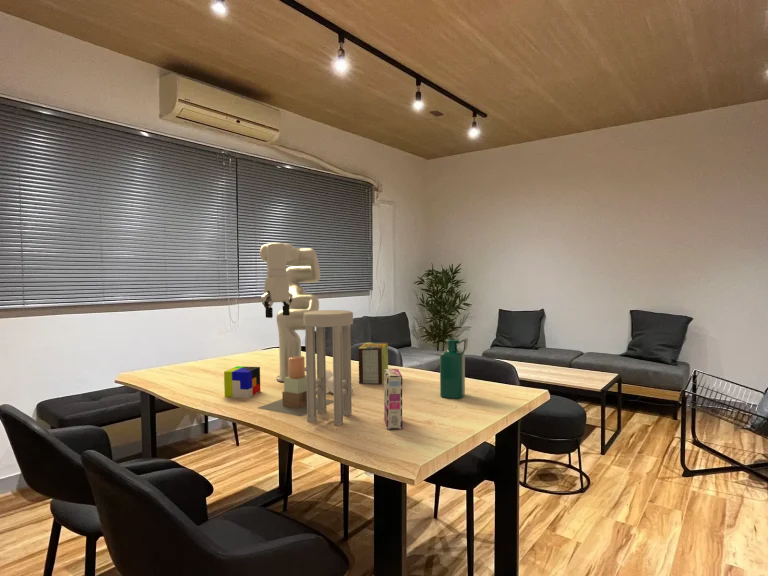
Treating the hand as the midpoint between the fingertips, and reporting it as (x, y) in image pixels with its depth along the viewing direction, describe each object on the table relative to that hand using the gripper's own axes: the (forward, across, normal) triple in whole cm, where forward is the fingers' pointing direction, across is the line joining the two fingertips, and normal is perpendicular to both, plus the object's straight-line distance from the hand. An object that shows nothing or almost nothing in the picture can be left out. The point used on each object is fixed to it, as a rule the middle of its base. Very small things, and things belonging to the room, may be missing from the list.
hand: (277, 316), depth 185 cm
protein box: (+31, -34, +24) cm, 52 cm away
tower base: (+30, +12, +20) cm, 38 cm away
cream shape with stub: (+31, -8, +22) cm, 39 cm away
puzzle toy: (+31, +10, -10) cm, 34 cm away
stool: (+31, +18, +39) cm, 53 cm away
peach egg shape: (+20, +12, +20) cm, 31 cm away
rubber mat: (+30, +12, +20) cm, 38 cm away
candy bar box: (+31, +13, +60) cm, 69 cm away
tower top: (+25, +12, +20) cm, 34 cm away
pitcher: (+31, -26, +65) cm, 76 cm away
